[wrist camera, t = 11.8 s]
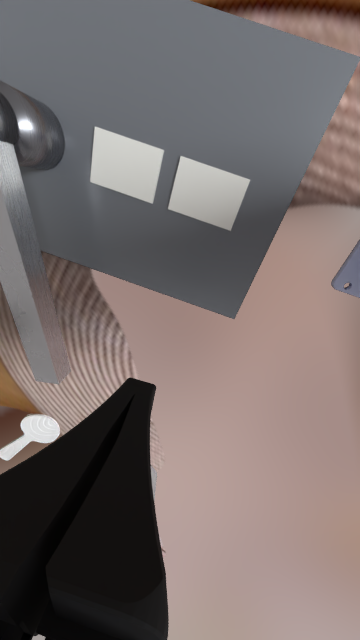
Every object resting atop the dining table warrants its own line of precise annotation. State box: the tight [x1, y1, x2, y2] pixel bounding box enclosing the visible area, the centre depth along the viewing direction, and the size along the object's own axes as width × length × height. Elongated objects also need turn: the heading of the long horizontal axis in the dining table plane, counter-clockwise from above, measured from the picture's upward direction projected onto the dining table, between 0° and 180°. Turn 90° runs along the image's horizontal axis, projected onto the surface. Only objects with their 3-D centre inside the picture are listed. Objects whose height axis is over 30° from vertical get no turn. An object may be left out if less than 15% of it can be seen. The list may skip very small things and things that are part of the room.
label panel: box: [0, 0, 360, 319], centre depth 15 cm, size 19×15×2 cm
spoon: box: [0, 414, 60, 460], centre depth 35 cm, size 5×18×1 cm, turn 133°
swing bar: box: [0, 92, 71, 384], centre depth 14 cm, size 18×3×2 cm, turn 179°
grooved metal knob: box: [0, 80, 65, 170], centre depth 14 cm, size 4×4×4 cm
